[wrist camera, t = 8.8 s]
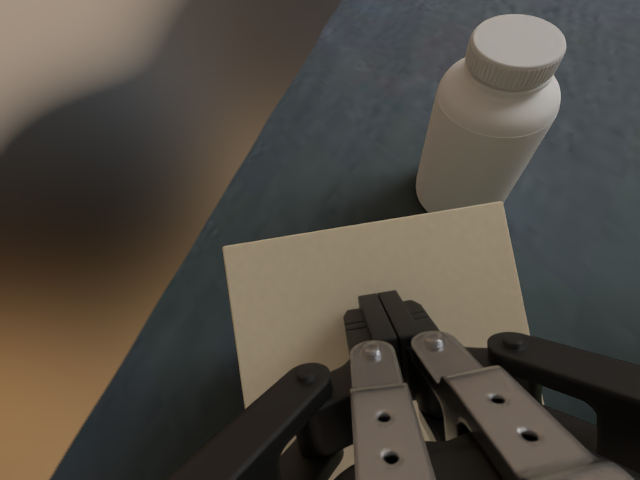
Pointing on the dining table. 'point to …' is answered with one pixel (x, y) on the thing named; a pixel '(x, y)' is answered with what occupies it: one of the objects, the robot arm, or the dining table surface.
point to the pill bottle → (491, 113)
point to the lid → (368, 289)
